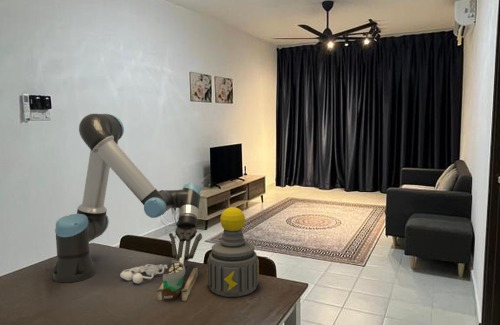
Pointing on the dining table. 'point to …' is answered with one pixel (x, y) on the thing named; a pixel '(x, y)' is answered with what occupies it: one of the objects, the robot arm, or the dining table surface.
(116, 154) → the robot arm
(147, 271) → the tangled rod sculpture
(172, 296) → the food container
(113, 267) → the dining table surface
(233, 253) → the decorative lamp
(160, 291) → the birch chute
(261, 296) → the dining table surface
